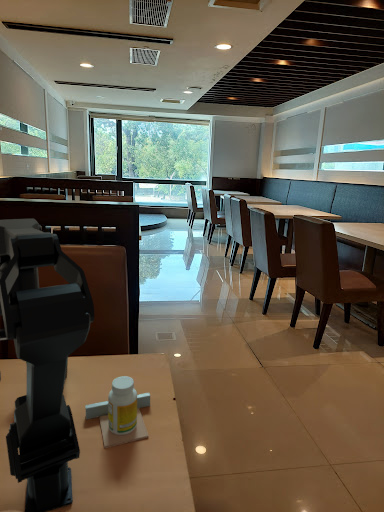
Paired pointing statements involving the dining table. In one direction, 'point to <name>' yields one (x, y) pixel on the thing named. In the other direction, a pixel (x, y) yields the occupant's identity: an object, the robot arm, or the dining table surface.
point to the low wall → (102, 407)
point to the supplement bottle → (122, 406)
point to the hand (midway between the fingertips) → (28, 376)
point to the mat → (113, 439)
